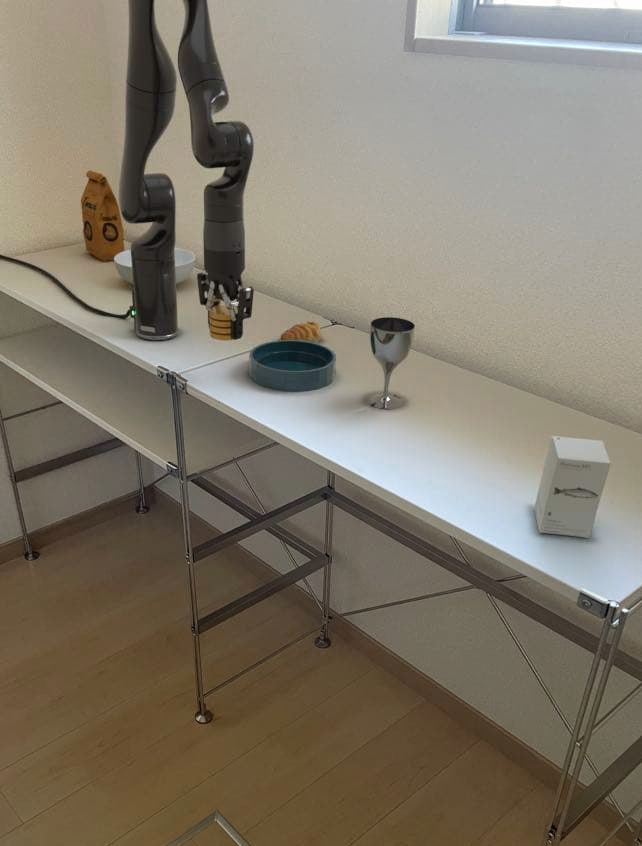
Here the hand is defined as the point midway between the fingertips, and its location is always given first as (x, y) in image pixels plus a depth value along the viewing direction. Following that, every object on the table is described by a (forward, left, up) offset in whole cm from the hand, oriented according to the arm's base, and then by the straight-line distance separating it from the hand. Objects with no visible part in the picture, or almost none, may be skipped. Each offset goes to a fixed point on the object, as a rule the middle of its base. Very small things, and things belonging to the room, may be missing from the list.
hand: (225, 333), depth 159 cm
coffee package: (-91, +31, -10) cm, 97 cm away
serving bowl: (-61, +27, -10) cm, 67 cm away
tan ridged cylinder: (0, 0, -1) cm, 1 cm away
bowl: (+7, +12, -10) cm, 16 cm away
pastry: (-6, +27, -10) cm, 29 cm away
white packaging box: (+73, +4, -10) cm, 74 cm away
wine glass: (+27, +17, -10) cm, 33 cm away
